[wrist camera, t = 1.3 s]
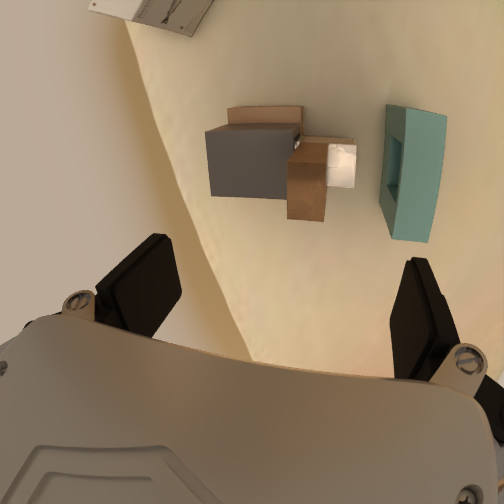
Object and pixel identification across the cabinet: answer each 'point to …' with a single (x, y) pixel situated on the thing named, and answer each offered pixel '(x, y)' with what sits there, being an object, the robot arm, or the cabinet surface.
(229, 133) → the grey block with backplate
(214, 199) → the cabinet surface
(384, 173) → the socket
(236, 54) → the cabinet surface
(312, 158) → the multicoloured piece
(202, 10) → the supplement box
